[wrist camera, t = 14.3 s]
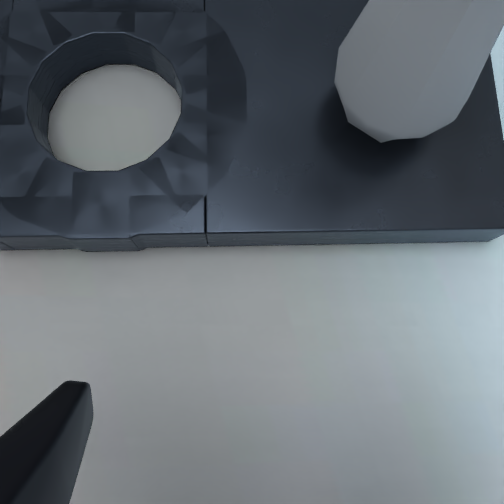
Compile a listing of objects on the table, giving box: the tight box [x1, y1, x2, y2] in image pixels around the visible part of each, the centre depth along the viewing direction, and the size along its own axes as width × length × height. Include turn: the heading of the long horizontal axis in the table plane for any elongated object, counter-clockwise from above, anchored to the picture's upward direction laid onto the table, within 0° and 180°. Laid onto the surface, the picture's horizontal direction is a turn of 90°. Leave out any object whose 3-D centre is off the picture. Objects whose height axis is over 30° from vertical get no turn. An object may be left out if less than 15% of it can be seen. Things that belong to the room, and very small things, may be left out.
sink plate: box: [0, 0, 504, 252], centre depth 24 cm, size 25×13×2 cm, turn 91°
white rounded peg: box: [334, 0, 504, 143], centre depth 16 cm, size 6×6×13 cm
